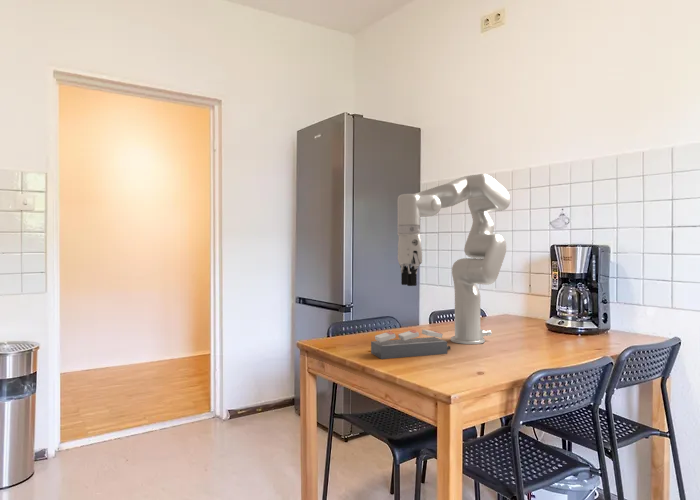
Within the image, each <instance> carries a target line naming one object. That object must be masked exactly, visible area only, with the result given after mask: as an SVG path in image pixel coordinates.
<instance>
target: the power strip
mask: <svg viewBox="0 0 700 500" xmlns="http://www.w3.org/2000/svg"><path fill="white" fill-rule="evenodd" d="M448 350H449V351H450V350H451V346H450V345H448V341H446V340H444V339H442V338H439V337H433V336H427V337H415V338H411V339H408V340H405V341H404V340H402V339H399V338H398V339H390V340H387V341H383V342H379V341H377V340H374V341H372V340H371V341H370V354H371V355H374V356H376V357H377V358H378V359H380V360H386V359H398V358H399V359H400V358H411V357H422V356H434V355H447V354H448Z"/></svg>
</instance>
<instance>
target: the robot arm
mask: <svg viewBox="0 0 700 500" xmlns="http://www.w3.org/2000/svg"><path fill="white" fill-rule="evenodd" d="M464 201H467V206H468V209H469V210H470V215H471V217H472V223H471V224H472V225H471V228H470V231H469V233H468V236H467V238H466V242H465V244H464V253H465V256H467V257H468V258H467V257H464V258H459V259H457V260H455V262H454V263H453V265H452V267H451V274H452V280H453V287H454V335H452V336H451V337H450V341H451V342H453V343H456V344H461V345H480V344H483V343H485V340H486V339H485V338H484V337H485V336H487V337H488V336H492V334H493V333H492V331H491V330H489V329H488V330H483V329H482V328H481V293H480V291H479V288H478V286H477V285H483V286H484V285H485V286H487V285H488V286H489V285H493V284H494V283H495V282H496V281H497V279H498V277H499V274H500V272H501V269H502V266H503V263H504V260H505V257H506V253H507V242H506V239H505V238H504V236H503V235H501V234H498V233H494V230H495V223H494V221H493V219H492V217H491V215H490V213H489V212H501V211H504V210H506V209H508V208H509V206H510V204H511V195H510V193H509V191H508V190H507V189H506V187H504V186H503V185H502V184H501V183H500V182H498V181H497V180H496V179H495V178H493V177H492V176H491V175H489V174H487V173H480V174H471V175H469V174H468V175H465V176H462V177H459V178H457V179H454V180H452V181H448V182H446V183H443V184H441V185H438V186H434V187H431V188H428V189H425V190H422V191H420V192H419V191H418V192H416V193H401V194H400V195H398V197H397V236H398V241H397V261H398V264H399V266H400V273H401V276H400V277H401V278H400V279H401V285H402V286H406V285H407V286H408V287H415V286H417V282H418V281H417V280H418V278H417V277H418V276H417V274H418V270H419V267H420V265H421V264H422V263H423V252H422V251H423V250H422V241H421V239H422V238H421V218H422V217H425V218H426V217H427V218H428V217H433V216H437V214H439V213H440V211H441V209H444V208H450V207H453V206H456V205H458V204H460V203H463V202H464Z"/></svg>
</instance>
